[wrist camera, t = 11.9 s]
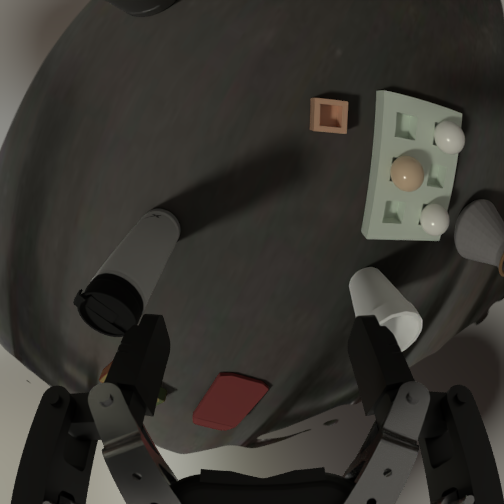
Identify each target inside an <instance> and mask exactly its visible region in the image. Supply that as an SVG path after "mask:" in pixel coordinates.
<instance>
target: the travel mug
mask: <svg viewBox="0 0 504 504" xmlns="http://www.w3.org/2000/svg"><path fill="white" fill-rule="evenodd" d="M180 232H181V230H180V224H179V222H178V220H177V218H176V217H175V216H174V215H173V214H172V213H171V212H169V211H167V210H164V209H153V210H150V211H148V212H147V213H146V214H145V215H144V216H143V217H142V218H141V220H140V221H139V222H138V223H137V224H136V225H135V226H134V228H133V229H132V230H131V231H130V232H129V233H128V235H127V236H126V237H125V238H124V239H123V241H122V242H121V243H120V244H119V245H118V247H117V248H116V249H115V250H114V252H113V253H112V254H111V255H110V257H109V258H108V259H107V260H106V262H105V263H104V264H103V266H102V267H101V268H100V269H99V271H98V272H97V273H96V275H95V276H94V277H93V279H92V280H91V282H90V284H89V285H88V286H87V288H86V290H85V292H84V293H82V294H81V292H82V291H83V290H82V289H81V290H79V292H78V293H77V295H76V297H75V299H74V302H73V303H74V305H76V306H77V308H78V312H79V314H80V316H81V317H82V319H83V320H84V321H85V322H86V324H88V325H89V326H90V327H91V328H93V329H94V330H96V331H98V332H100V333H102V334H104V335H108V336H113V337H122V336H124V334H125V333H126V332H127V331H128V330H129V329H130V328H131V327H132V326H133V325H137V324H138V322H139V319H140V317H141V315H142V314H143V312H144V309H145V307H146V305H147V303H148V301H149V298H150V296H151V294H152V292H153V290H154V287H155V285H156V283H157V281H158V279H159V277H160V275H161V273H162V271H163V269H164V267H165V264H166V262H167V260H168V258H169V256H170V254H171V252H172V250H173V248H174V246H175V244H176V242H177V241H178V238H179V236H180Z"/></svg>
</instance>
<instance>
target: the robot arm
mask: <svg viewBox="0 0 504 504" xmlns="http://www.w3.org/2000/svg"><path fill="white" fill-rule="evenodd" d="M105 1H107V2H109V3H111V4H112V5H114V6H116V7H118V8H119V9H121V10H123V11H124V12H126V13H128V14H130V15H132V16H136V17H145V16H150V15H154V14H157V13H159V12H161V11H163V10H165V9H166V8H168V7H169V6H171V5H172V4H173V3H174V2H175V1H176V0H105ZM169 353H170V339H169V336H168V332H167V329H166V325H165V321H164V318H163V316H162V315H154V314H144V315H143V317H142V319H141V322H140V324H139V326H138V325H133V326H132V327H131V328H130V329H129V330H128V331H127V332H126V333H125V334H124V336H123V339H122V341H121V345H119V348H118V350H117V352H116V355H115V357H114V359H113V362H112V364H111V366H110V369H109V371H108V374H107V376H106V379H105V381H104V383H101V384H98V385H96V386H95V387H94V388H93V389H92V390H91V391H90V392H88V393H77V394H70V393H69V392H68V391H67V390H66V389H65V388H64V387H62V386H53V387H50V388H49V389H47V390H46V391H45V393H44V394H43V396H42V399H41V401H40V404H39V406H38V409H37V412H36V414H35V417H34V420H33V422H32V425H31V428H30V431H29V434H28V437H27V440H26V444H25V447H24V450H23V453H22V457H21V460H20V464H19V468H18V472H17V476H16V480H15V485H14V489H13V494H12V500H11V504H86V498H87V492H88V486H89V480H90V475H91V469H92V464H93V460H94V455H95V450H96V446H97V442H98V440H102V442H103V445H104V449H102V454H103V457H104V459H105V462H106V464H107V466H108V468H109V471H110V473H111V475H112V477H113V479H114V481H115V483H116V485H117V487H118V489H119V491H120V493H121V494H122V496H123V498H124V500H125V502H126V504H395V503H396V501H397V499H398V497H399V495H400V493H401V491H402V489H403V487H404V485H405V483H406V481H407V479H408V476H409V474H410V472H411V469H412V467H413V465H414V462H415V459H416V457H417V454H418V451H419V445H420V449H421V454H422V458H423V463H424V467H425V473H426V478H427V484H428V489H429V496H430V503H431V504H504V499H503V494H502V488H501V483H500V479H499V474H498V471H497V466H496V463H495V458H494V455H493V452H492V448H491V445H490V442H489V438H488V435H487V432H486V429H485V426H484V424H483V421H482V418H481V415H480V413H479V410H478V407H477V405H476V402H475V400H474V398H473V395H472V393H471V392H470V390H469V389H467V388H466V387H465V386H462V385H455V386H453V387H451V388H450V389H449V390H448V392H447V393H443V392H442V393H441V392H429V391H428V390H427V388H426V387H425V386H424V385H423V384H421V383H419V382H415V380H414V379H413V376H412V374H411V371H410V369H409V367H408V365H407V362H406V360H405V358H404V356H403V353H401V349H400V347H399V345H398V342H397V340H396V338H395V336H394V334H393V333H392V332H391V331H390V330H389V329H388V328H387V327H386V326H380V324H379V322H378V320H377V318H376V316H375V315H362V316H357V317H356V319H355V322H354V325H353V328H352V331H351V334H350V337H349V340H348V354H349V357H350V361H351V364H352V368H353V371H354V374H355V378H356V381H357V385H358V389H359V392H360V396H361V400H362V403H363V407H364V411H365V415H366V416H368V415H374V414H375V417H376V421H375V422H374V424H373V426H372V428H371V430H370V432H369V434H368V436H367V438H366V440H365V442H364V443H363V445H362V447H361V449H360V451H359V453H358V454H357V456H356V457H355V459H354V460H353V461H352V463H351V464H350V465H349V467H348V468H347V470H346V471H345V473H344V475H343V476H339V475H336V474H331V473H325V469H324V467H322V468H313V469H304V470H294V471H291V472H287V473H284V474H280V475H276V476H272V477H268V478H257V477H253V476H248V475H243V474H240V473H236V472H232V471H218V470H205V469H201V474H199V475H193V476H189V477H186V478H183V479H181V480H179V481H178V479H177V478H176V476H175V475H174V473H173V472H172V470H171V469H170V468H169V466H168V465H167V464H166V462H165V461H164V459H163V458H162V456H161V455H160V453H159V451H158V450H157V448H156V447H155V444H154V443H153V441H152V439H151V437H150V436H149V434H148V432H147V430H146V428H145V426H144V424H143V420H144V416H145V415H147V416H154V412H155V408H156V403H157V399H158V395H159V391H160V387H161V383H162V380H163V376H164V372H165V368H166V364H167V361H168V357H169ZM417 439H418V441H419V445H417V444H416V443H417Z"/></svg>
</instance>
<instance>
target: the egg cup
mask: <svg viewBox="0 0 504 504" xmlns="http://www.w3.org/2000/svg"><path fill="white" fill-rule="evenodd" d="M347 118H348V102H347V101H340V100H332V99H323V98H311V106H310V130H313V131H321V132H332V133H342V134H347Z"/></svg>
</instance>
